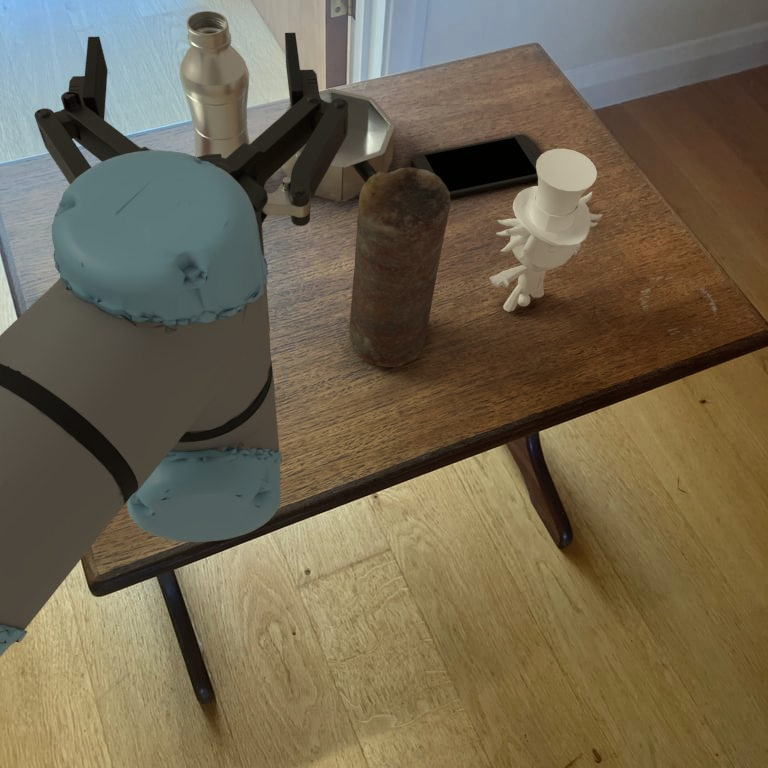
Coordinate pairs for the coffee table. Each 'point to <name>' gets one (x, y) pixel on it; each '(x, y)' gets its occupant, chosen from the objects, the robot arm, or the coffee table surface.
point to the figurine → (547, 222)
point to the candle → (396, 263)
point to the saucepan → (355, 148)
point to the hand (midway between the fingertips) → (195, 51)
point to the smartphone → (482, 164)
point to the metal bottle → (215, 86)
